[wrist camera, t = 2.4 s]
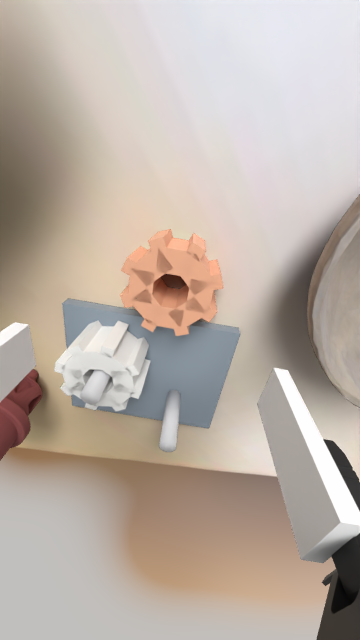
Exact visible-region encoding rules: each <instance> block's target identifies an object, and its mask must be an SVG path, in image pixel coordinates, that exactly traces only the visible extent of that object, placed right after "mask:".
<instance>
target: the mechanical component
mask: <svg viewBox="0 0 360 640" xmlns="http://www.w3.org/2000/svg"><path fill="white" fill-rule="evenodd" d="M37 376H38V373H37V371H35V370H33V369H32V370H31V371H30V372H29V373H28V374H27V375H26V376H25V377H24V378H23V379H22V380H21V381H20V383H19V384H18V385H17V386H16V387H15V388H14V389H13V390H12V391H11V392H10V393H9V394H8V395H7V396H6V397H5V398H4V399H3V400H2V401H1V402H0V460H1V459H2V458H3V456H4V455H5V454H6V452H7V451H8V450H9V448H12V447H15V446H18V445H19V444H21V443H22V442H23V440H24V439H25V437H26V436H27V435H28V433H29V431H30V427H31V426H30V421H29V418H28V415H29V414H30V413H31V411H32V410H33V409H34V407H35V406H36V405H37V404H38V402H39V401H40V400H41V398H42V391H41V388H40V386H39V385H38V383H37V382H36V379H37Z"/></svg>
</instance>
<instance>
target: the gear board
mask: <svg viewBox="0 0 360 640" xmlns="http://www.w3.org/2000/svg"><path fill="white" fill-rule="evenodd" d="M62 304H63V314H64V325H65V335H66V345H67V348H68V347H69V346H70V345H71V344H72V343H73V341H74V340H75V339H76V338H77V337H78V336H79V335H80V334H81V333H82V331H83V330H84V329H85V328H86V327H87V326H88V325H89V324H90V323H92V322H95V321H98V320H99V322H100V323H101V325H102V326H115V324H116V323H117V321H121V322H123V323H126V324H129V325H128V328H127V331H128V332H130V333H131V334H132V335H133V336H135V337H136V338H137V339H140V338H142V337H144V338H145V339H146V341H147V343H148V344H149V347H148V350H147V353H146V356H145V359H147V360H150V365H149V368H148V371H147V375H146V378H145V382H144V385H143V388H142V392H141V394H140V396H139V399H137V398H134V397H130V398H129V400H128V403H127V406H126V409H123V410H120V411H115V410H114V409H113V408H112V407H110V406H98V407H97V409H96V410H102V411H108V412H114V413H120V414H126V415H132V416H138V417H144V418H150V419H156V420H161V421H163V424H162V431H161V437H160V443H159V448H160V449H161V450H162V451H165V452H172V451H174V450H175V449H176V444H177V433H178V423H179V424H185V425H191V426H197V427H203V428H209V427H210V424H211V421H212V418H213V415H214V412H215V409H216V406H217V403H218V400H219V397H220V394H221V391H222V388H223V385H224V382H225V379H226V376H227V373H228V370H229V367H230V364H231V361H232V358H233V355H234V352H235V349H236V346H237V343H238V340H239V337H240V331H239V328H236V327H230V326H225V325H219V324H213V323H207V322H202V321H196V322H194V323H192V324H190V326H189V334H186V335H180V336H176V335H175V331H174V329H172V328H166V327H160V326H156V328H155V329H154V331H153V332H151V331H150V330H148V329H146V328H144V327H142V326H141V324H142V322H143V320H144V318H143V317H142V315H141V314H140V313H139V312H138V311H137V310H132V309H127V308H121V307H115V306H109V305H103V304H98V303H92V302H86V301H80V300H75V299H67V300H66V301H65V302H63V303H62ZM110 377H111V376H110V375H109V374H107V373H106V372H104V371H103V370H98V369H95V370H94V372H93V373H92V375H91V377H90V378H89V380H88V382H87V383H86V385H85V387H84V388H83V390H82V392H81V393H80V398H81V399H80V398H79V397H77V396H75V395H74V394H72V395H71V397H72V406H78V407H84V408H86V407H85V404H86V403H87V404H96V403H98V401H99V399H100V397H101V395H102V393H103V391H104V389H105V387H106V385H107V383H108V381H109V379H110Z"/></svg>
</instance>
